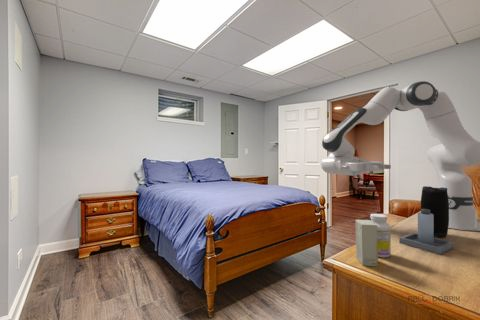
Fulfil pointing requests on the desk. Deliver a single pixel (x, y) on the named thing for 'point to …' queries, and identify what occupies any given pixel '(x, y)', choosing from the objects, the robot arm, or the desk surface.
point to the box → (438, 247)
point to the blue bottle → (426, 227)
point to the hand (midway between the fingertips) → (384, 167)
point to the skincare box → (366, 242)
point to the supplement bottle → (382, 235)
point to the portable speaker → (437, 208)
